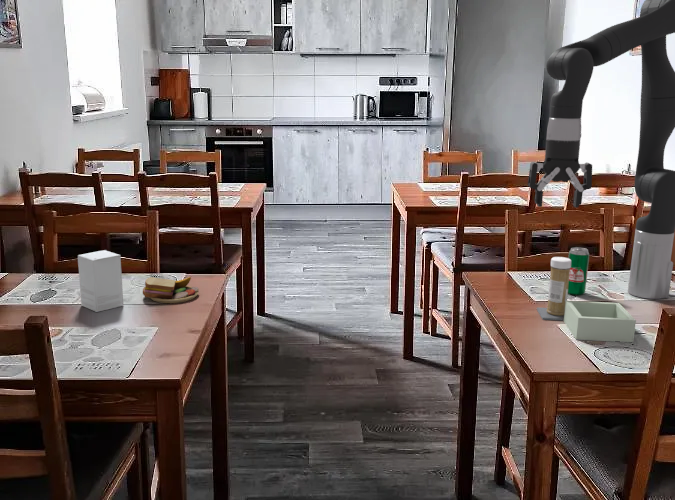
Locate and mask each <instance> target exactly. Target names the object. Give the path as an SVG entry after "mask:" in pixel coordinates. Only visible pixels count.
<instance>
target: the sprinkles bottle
mask: <svg viewBox="0 0 675 500" xmlns="http://www.w3.org/2000/svg"><path fill="white" fill-rule="evenodd" d="M570 268H571V259H569V258H568V257H564V256H553V257H552V258H551V259H550V274H549V275H550V276H549V282H548V284H549V285H548V292H547V293H548V295H547V307H546V308H547V312H548V313H549V314H551V315H557V316H561V315H564V312H565V302H566V301H568V296H569V294H568V282H569V272H570Z"/></svg>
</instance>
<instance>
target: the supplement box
mask: <svg viewBox="0 0 675 500" xmlns="http://www.w3.org/2000/svg"><path fill="white" fill-rule="evenodd" d="M121 257H122V256H121V254H118V253H115V252H111V251H109V250H107V249H104V250H98V251H93V252H88V253H83V254H78V255H77V265H78V277H79V279H78V280H79V289H80V290H79V292H80V305H81V306H82V307H84V308H86V309H89V310H91V311H93V312H96V313H97V312H98V313H99V312H103V311H108V310H111V309H115V308H120V307H123V306H124V295H123V294H124V291H123V277H122V262H121V261H122V260H121V259H122V258H121Z"/></svg>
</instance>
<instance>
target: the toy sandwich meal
mask: <svg viewBox="0 0 675 500" xmlns="http://www.w3.org/2000/svg"><path fill="white" fill-rule="evenodd" d="M191 279H192V277H191V276H188V277H187V278H183V279H180V280H175V279H170V278H169V279H168V278H159V277H154V276H153V277H152V276H151V277H147V278H146V279H145V283H144V287H143V288H142V295H143V296H144V297H146V298H149V299H150V300H152V301H153V302H156V303H161V304H177V303H178V304H179V303H184V302H185V303H186V302H189V301H192V300H193V299H195V298H196V297H197V296H198V294H199V290H200V289H199V287H197V286H189V283H190V282H191Z"/></svg>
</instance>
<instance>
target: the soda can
mask: <svg viewBox="0 0 675 500" xmlns="http://www.w3.org/2000/svg"><path fill="white" fill-rule="evenodd" d="M567 258H569V259H571V268H570V272H569V282H568V295H571V296H583V295H584V294H586V289H587V279H588V270H589V262H590V253H589V249H587V248H584V247H580V246H579V247H577V246H575V247H571V248H570V250H569V252H568V257H567Z"/></svg>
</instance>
